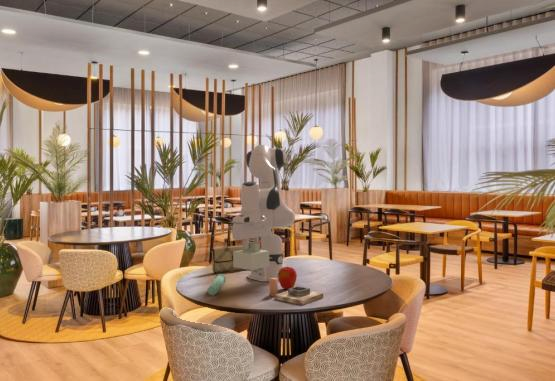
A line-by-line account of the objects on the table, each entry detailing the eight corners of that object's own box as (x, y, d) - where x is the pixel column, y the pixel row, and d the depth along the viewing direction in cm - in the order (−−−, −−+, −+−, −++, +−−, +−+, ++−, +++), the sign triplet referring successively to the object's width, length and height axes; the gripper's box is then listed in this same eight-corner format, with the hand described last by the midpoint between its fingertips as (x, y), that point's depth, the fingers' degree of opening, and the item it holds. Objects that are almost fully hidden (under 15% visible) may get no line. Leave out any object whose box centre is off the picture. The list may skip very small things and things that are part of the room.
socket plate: (274, 299, 216) (274, 289, 216) (296, 292, 229) (296, 283, 229) (302, 305, 206) (302, 294, 206) (323, 297, 218) (323, 287, 218)
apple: (274, 289, 235) (274, 265, 234) (287, 286, 241) (286, 263, 241) (287, 292, 228) (287, 268, 228) (300, 289, 235) (300, 265, 234)
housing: (233, 267, 214) (233, 243, 213) (250, 263, 222) (250, 240, 222) (252, 270, 206) (251, 245, 206) (269, 266, 215) (269, 242, 215)
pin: (267, 295, 223) (267, 278, 223) (273, 293, 226) (272, 277, 226) (274, 296, 221) (273, 279, 220) (279, 295, 224) (279, 278, 223)
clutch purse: (214, 275, 271) (214, 249, 270) (209, 273, 277) (209, 247, 276) (259, 269, 286) (259, 244, 286) (253, 267, 292) (253, 243, 292)
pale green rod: (215, 283, 224) (223, 271, 249) (203, 288, 224) (213, 276, 249) (220, 294, 224) (227, 282, 249) (208, 299, 224) (217, 286, 249)
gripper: (260, 215, 224) (261, 244, 224) (229, 218, 208) (230, 250, 208) (270, 216, 220) (271, 245, 220) (239, 219, 204) (240, 251, 204)
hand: (251, 247), depth 214 cm, fingers closed on housing, 3 cm apart
